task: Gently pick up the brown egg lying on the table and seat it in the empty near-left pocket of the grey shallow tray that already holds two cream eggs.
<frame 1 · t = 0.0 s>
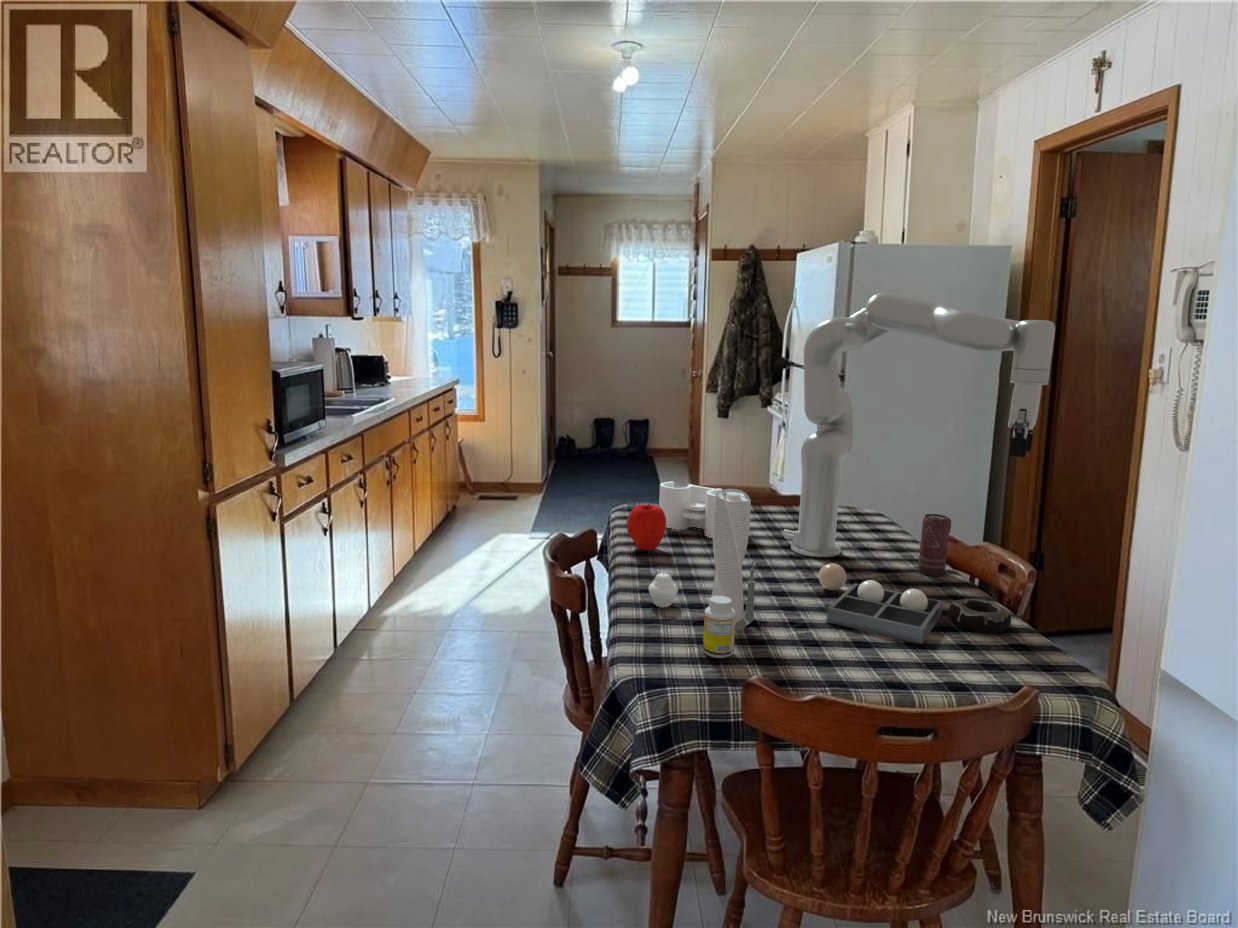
hand: (1020, 453, 181), 31 cm above the table, fingers open, 9 cm apart
bracket: (698, 532, 227), on the table
brown egg: (831, 589, 182), on the table
egg left: (869, 605, 171), resting on grey shallow tray
supplement bottle: (717, 653, 147), on the table
apple: (645, 549, 208), on the table
can: (931, 573, 196), on the table
egg right: (912, 614, 167), resting on grey shallow tray
donut: (978, 625, 164), on the table
skyscraper: (727, 623, 162), on the table
grey shallow tray: (885, 618, 165), on the table
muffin: (662, 605, 169), on the table
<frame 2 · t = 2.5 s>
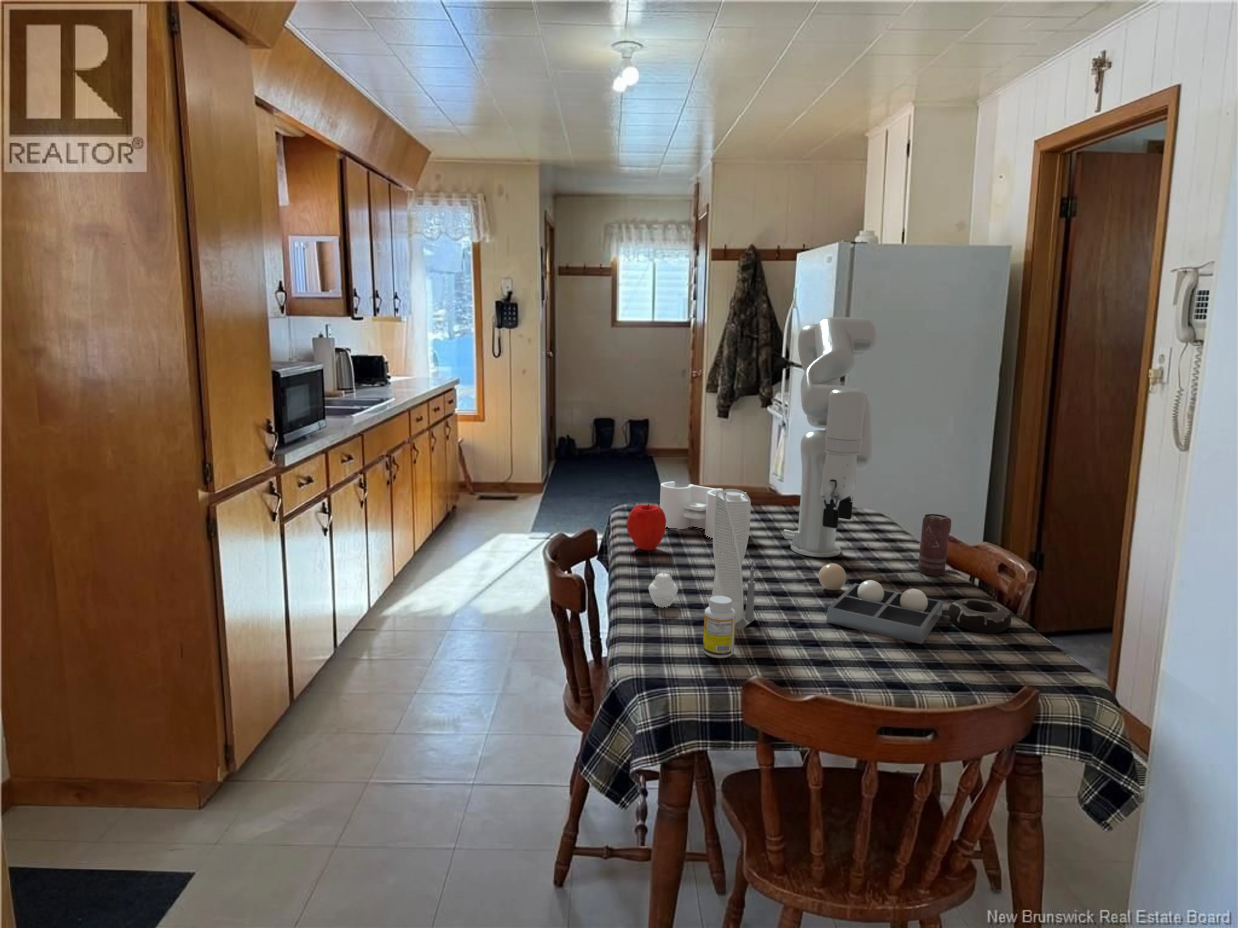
hand: (837, 522, 178), 16 cm above the table, fingers open, 9 cm apart
nothing on the table moved.
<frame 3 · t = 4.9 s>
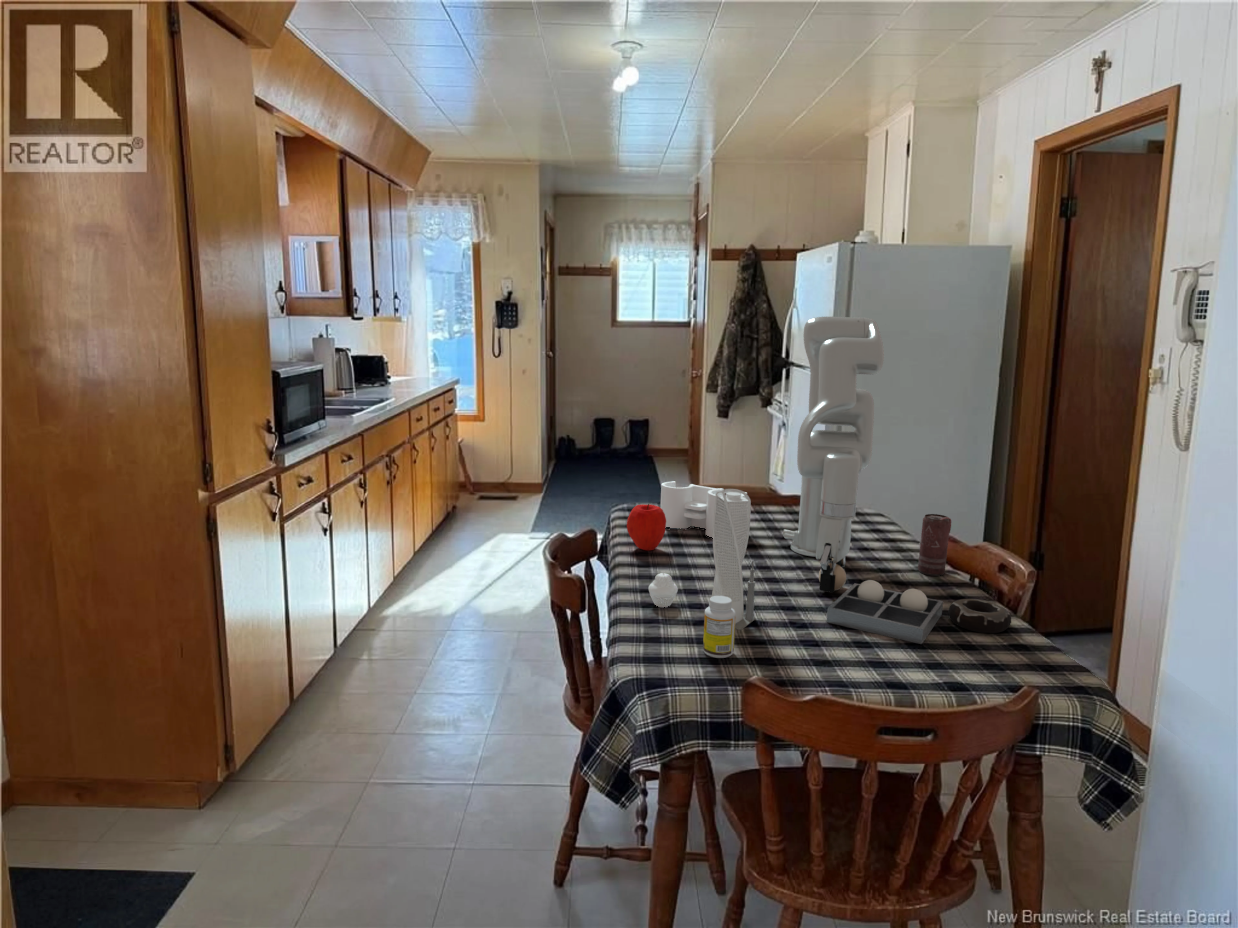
hand: (831, 586, 181), 1 cm above the table, fingers closed on brown egg, 5 cm apart
brown egg: (831, 589, 182), on the table, touching gripper
everything else where it was.
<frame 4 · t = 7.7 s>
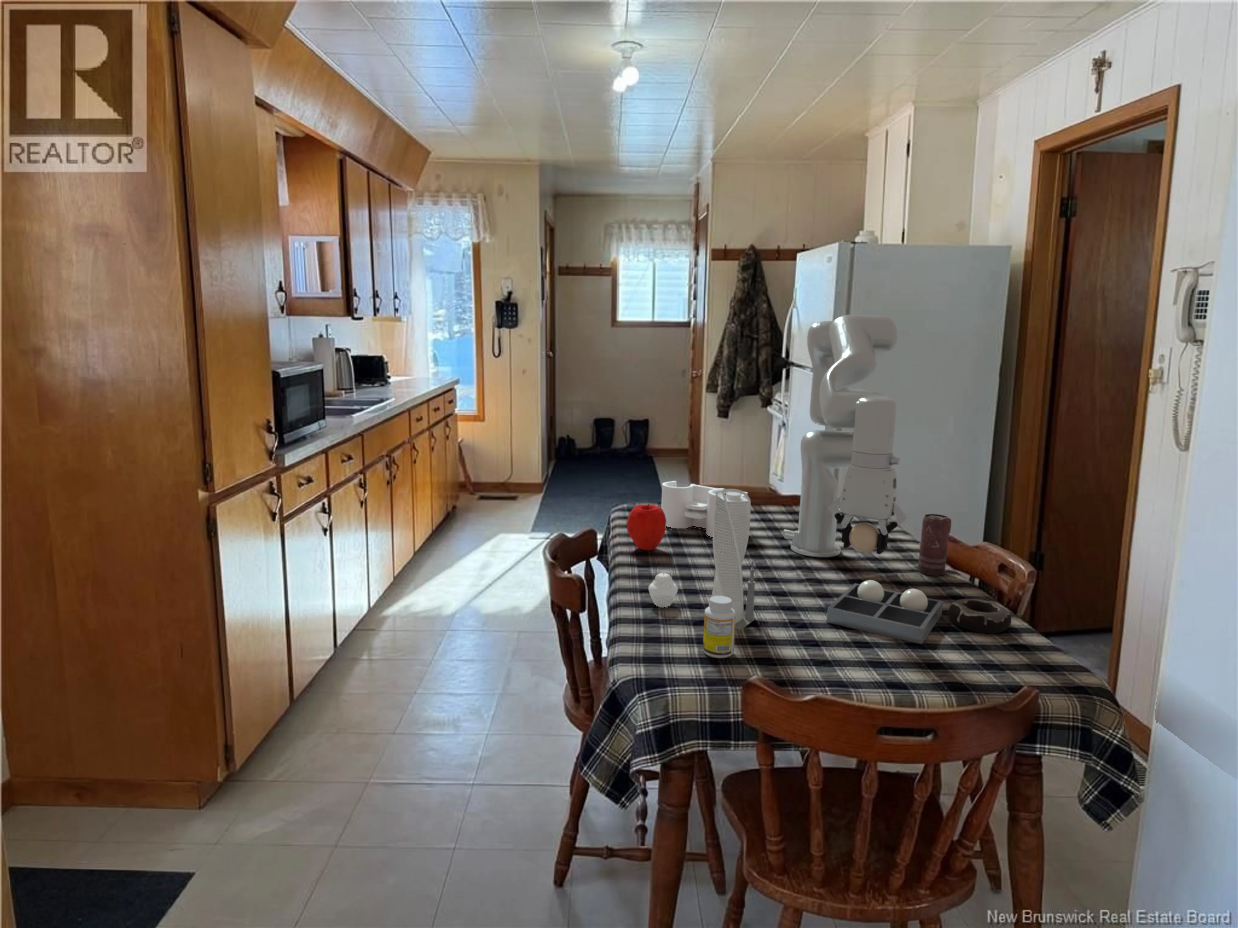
hand: (863, 548, 161), 15 cm above the table, fingers closed on brown egg, 5 cm apart
brown egg: (863, 552, 161), point 14 cm above the table, touching gripper
everything else where it was.
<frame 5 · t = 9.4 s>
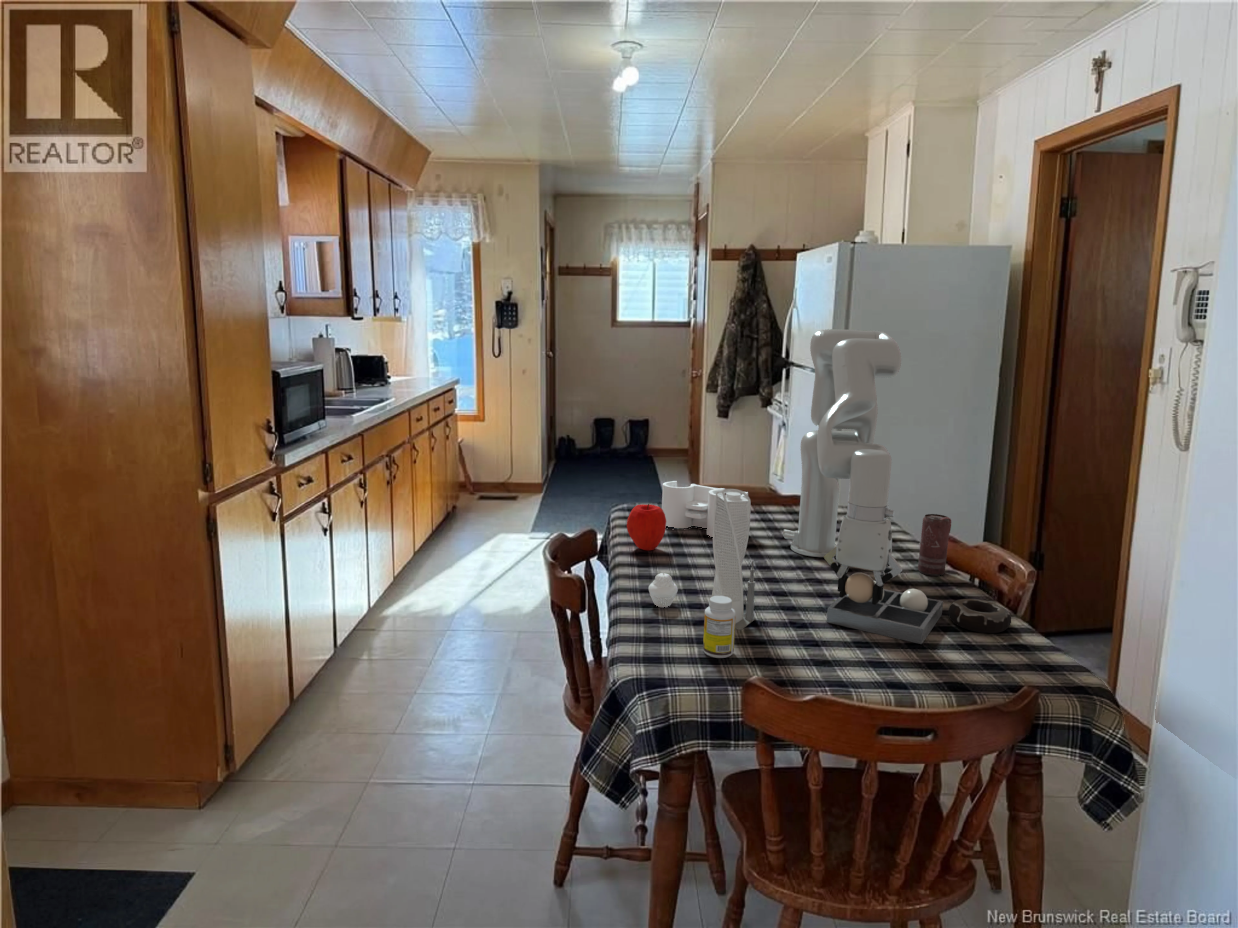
hand: (859, 598, 163), 5 cm above the table, fingers closed on brown egg, 5 cm apart
brown egg: (859, 601, 163), point 4 cm above the table, touching gripper
when the fingers open (4 cm above the table, at t = 10.5 s): brown egg drops 3 cm, resting on grey shallow tray.
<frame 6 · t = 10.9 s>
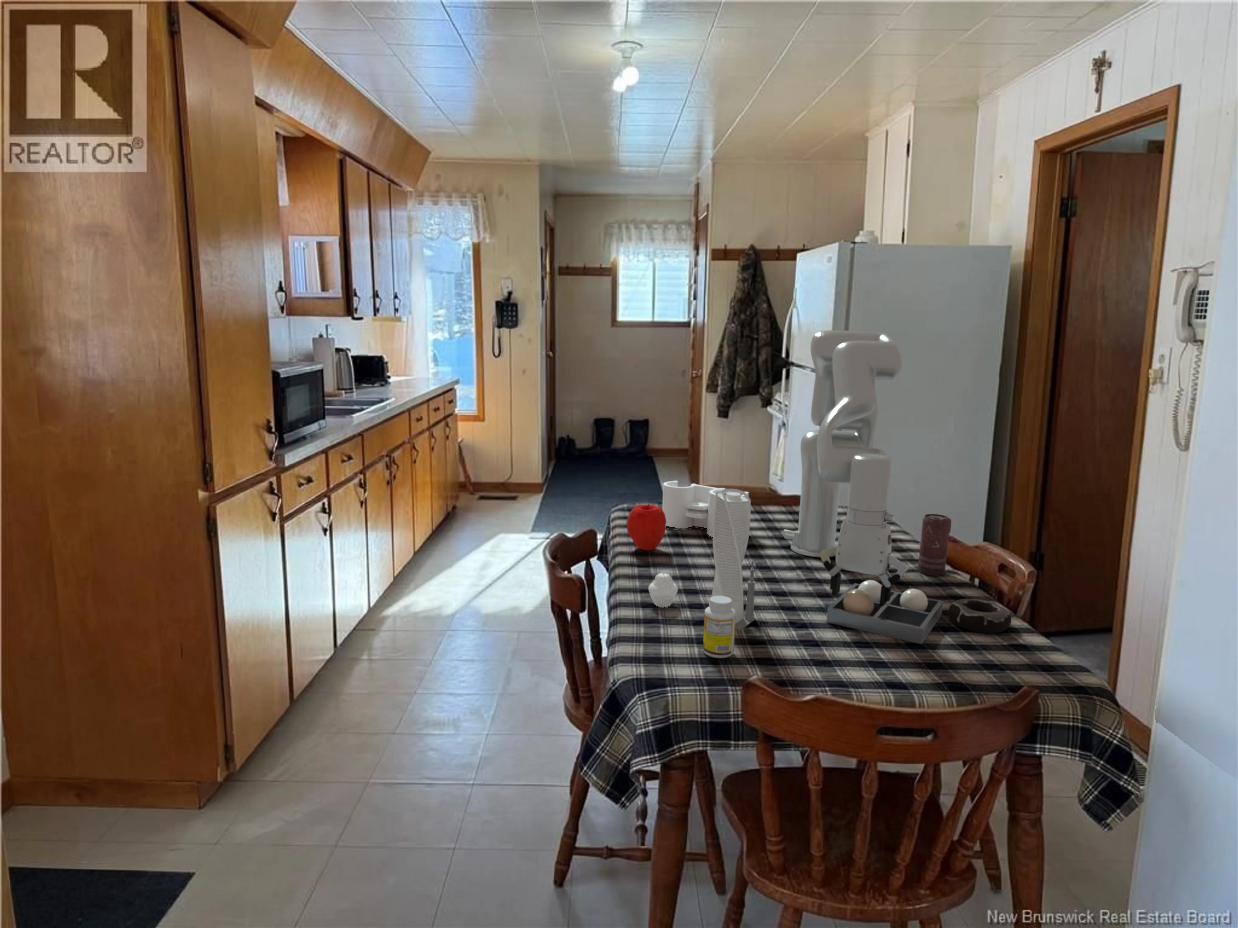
hand: (859, 598, 163), 5 cm above the table, fingers open, 9 cm apart
brown egg: (857, 617, 164), resting on grey shallow tray
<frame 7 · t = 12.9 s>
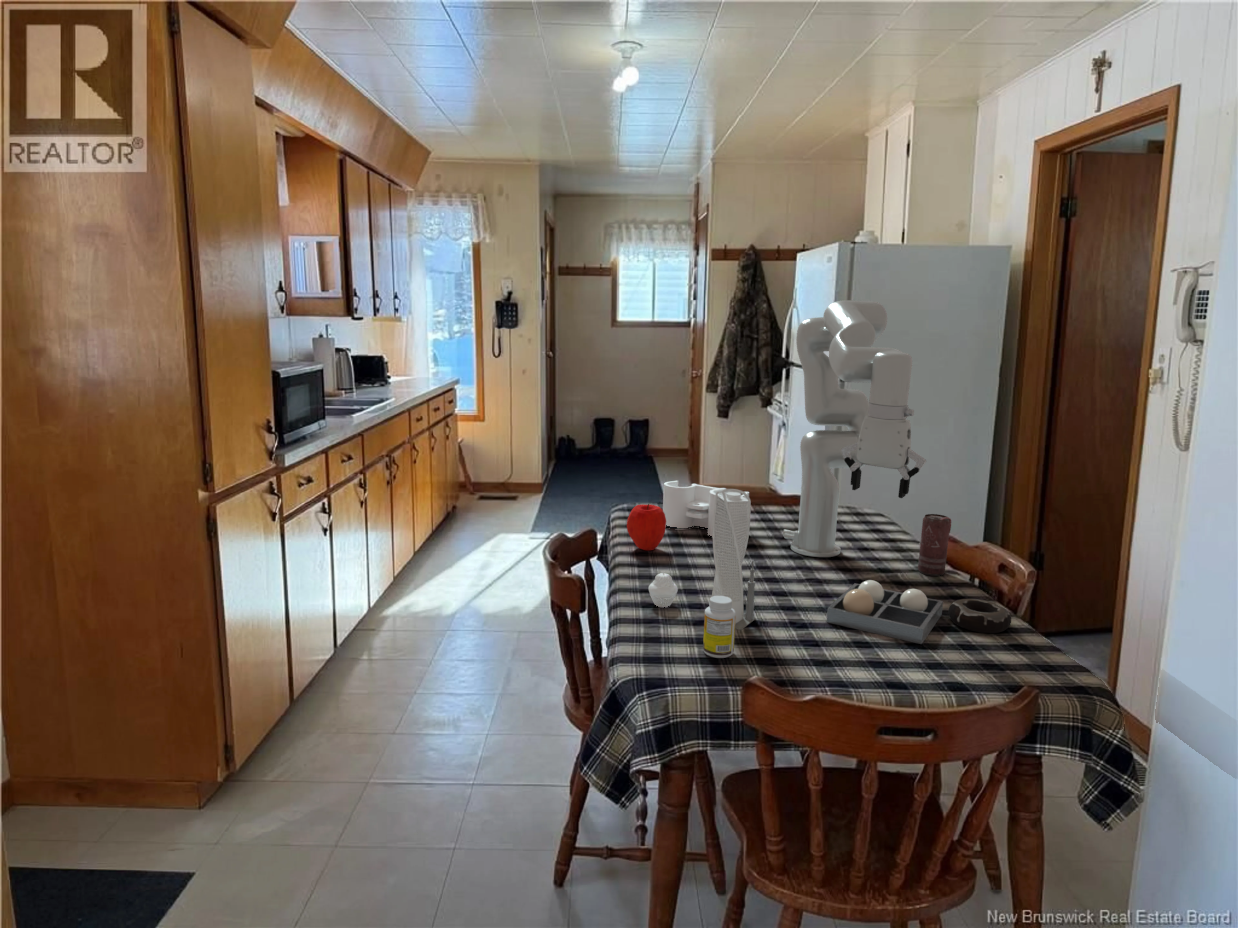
hand: (878, 492, 170), 24 cm above the table, fingers open, 9 cm apart
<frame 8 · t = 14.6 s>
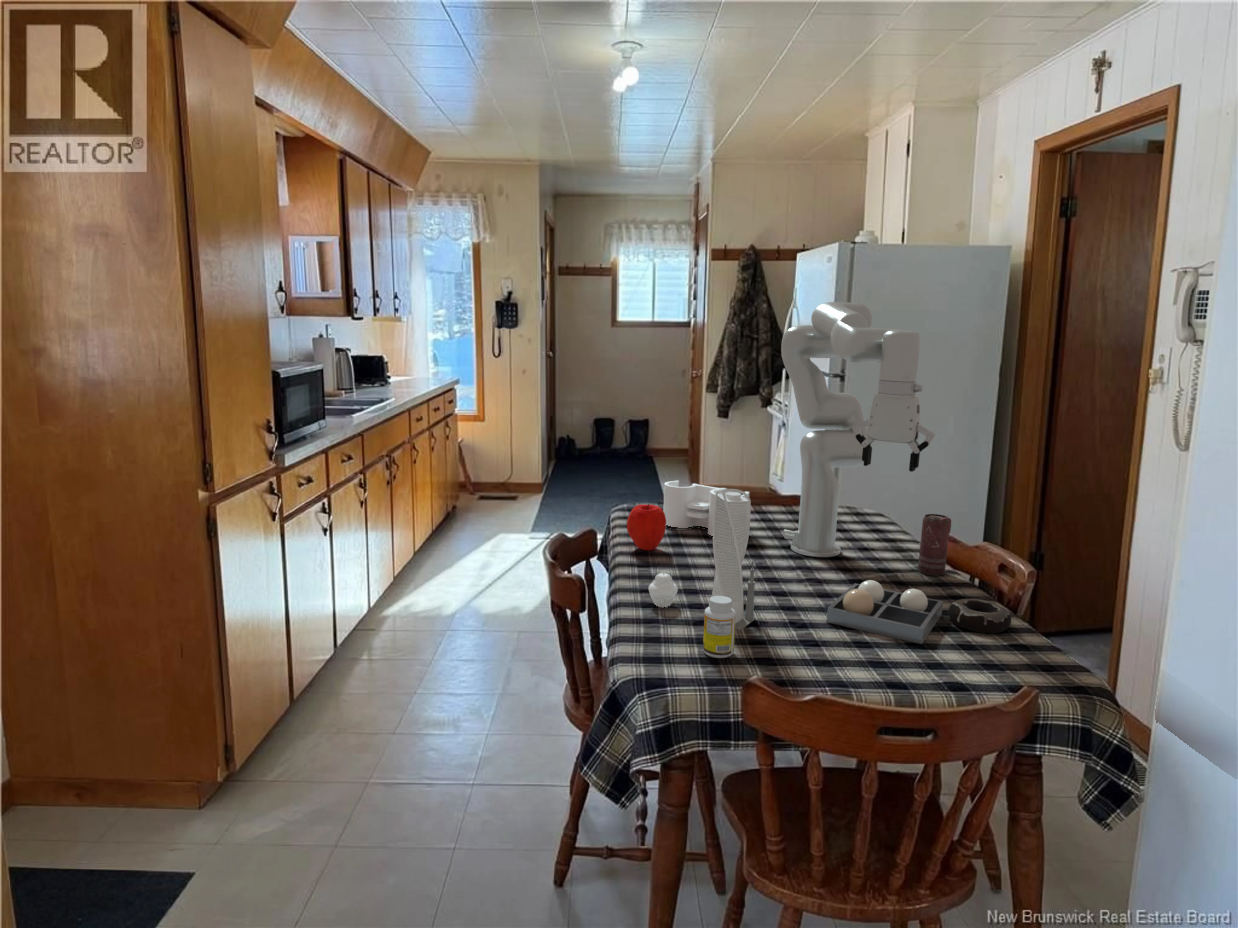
hand: (889, 467, 176), 28 cm above the table, fingers open, 9 cm apart
at the end: brown egg inside the target area on the grey shallow tray (0.0 cm from its centre), point 0.5 cm above the grey shallow tray's base; the gripper is holding nothing; egg left moved 0.1 cm from its start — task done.
